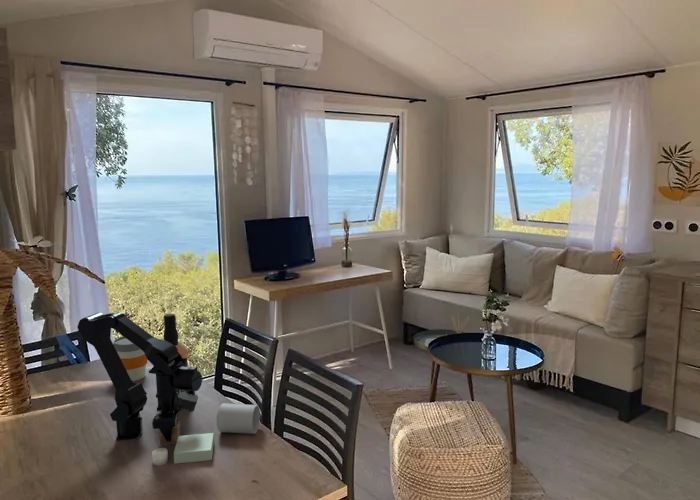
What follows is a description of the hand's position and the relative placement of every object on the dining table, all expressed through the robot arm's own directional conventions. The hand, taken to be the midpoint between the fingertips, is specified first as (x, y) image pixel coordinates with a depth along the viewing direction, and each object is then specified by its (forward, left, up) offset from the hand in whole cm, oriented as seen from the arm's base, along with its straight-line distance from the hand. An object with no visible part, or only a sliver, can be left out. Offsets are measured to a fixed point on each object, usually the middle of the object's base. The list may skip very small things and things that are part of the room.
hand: (170, 436), depth 165 cm
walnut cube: (0, 0, -1) cm, 1 cm away
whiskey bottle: (-2, +25, -1) cm, 25 cm away
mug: (+15, +5, +2) cm, 16 cm away
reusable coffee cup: (-22, +55, -1) cm, 59 cm away
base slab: (+8, -9, -1) cm, 12 cm away
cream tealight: (-1, -12, -1) cm, 12 cm away
